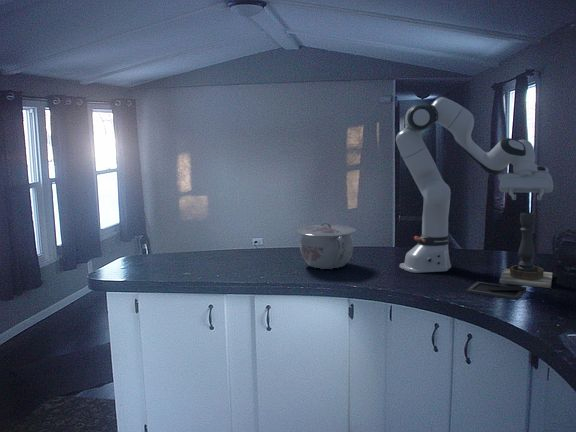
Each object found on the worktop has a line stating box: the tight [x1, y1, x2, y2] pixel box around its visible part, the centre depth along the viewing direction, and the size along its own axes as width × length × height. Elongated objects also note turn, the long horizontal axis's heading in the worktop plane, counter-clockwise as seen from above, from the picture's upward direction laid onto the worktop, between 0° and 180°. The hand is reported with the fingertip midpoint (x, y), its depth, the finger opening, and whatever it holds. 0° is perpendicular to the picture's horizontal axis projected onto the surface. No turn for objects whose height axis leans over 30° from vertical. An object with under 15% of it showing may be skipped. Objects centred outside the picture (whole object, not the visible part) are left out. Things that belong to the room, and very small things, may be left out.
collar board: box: [499, 264, 553, 289], centre depth 213 cm, size 18×18×4 cm
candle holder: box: [518, 212, 537, 272], centre depth 211 cm, size 6×6×25 cm
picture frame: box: [465, 281, 528, 301], centre depth 198 cm, size 13×2×18 cm
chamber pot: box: [295, 221, 358, 270], centre depth 242 cm, size 28×28×21 cm
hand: (526, 199), depth 215 cm, fingers open, 8 cm apart
